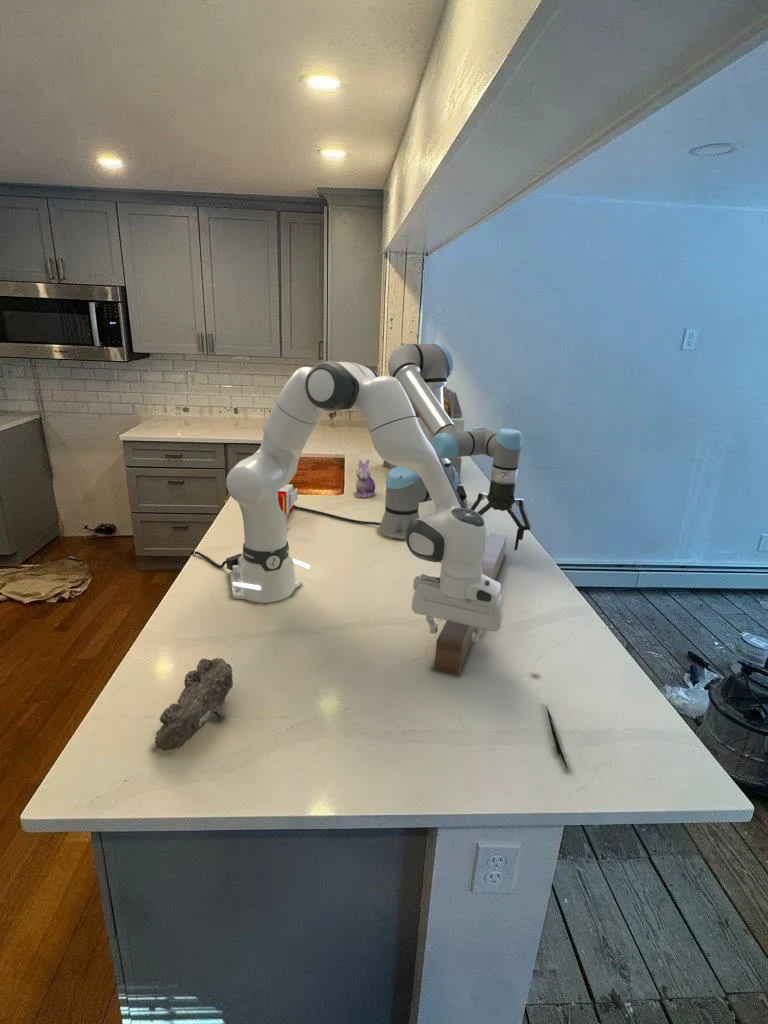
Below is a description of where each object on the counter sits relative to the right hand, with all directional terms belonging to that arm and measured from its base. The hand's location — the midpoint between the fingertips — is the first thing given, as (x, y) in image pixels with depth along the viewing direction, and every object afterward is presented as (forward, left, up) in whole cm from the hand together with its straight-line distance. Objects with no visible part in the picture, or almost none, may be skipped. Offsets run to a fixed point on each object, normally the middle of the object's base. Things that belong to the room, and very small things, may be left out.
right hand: (494, 544), depth 180 cm
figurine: (-75, +8, -6) cm, 76 cm away
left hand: (+29, -50, 0) cm, 58 cm away
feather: (+55, -50, -6) cm, 74 cm away
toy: (-73, -35, -6) cm, 81 cm away
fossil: (+13, -103, -6) cm, 104 cm away
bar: (+15, -25, -6) cm, 30 cm away
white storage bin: (-87, +52, -6) cm, 101 cm away
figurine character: (-42, +29, -6) cm, 52 cm away
